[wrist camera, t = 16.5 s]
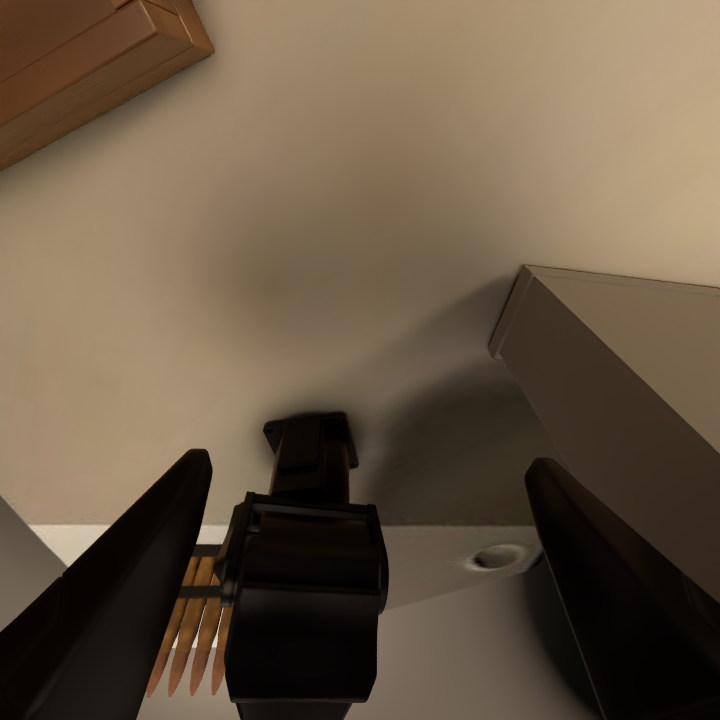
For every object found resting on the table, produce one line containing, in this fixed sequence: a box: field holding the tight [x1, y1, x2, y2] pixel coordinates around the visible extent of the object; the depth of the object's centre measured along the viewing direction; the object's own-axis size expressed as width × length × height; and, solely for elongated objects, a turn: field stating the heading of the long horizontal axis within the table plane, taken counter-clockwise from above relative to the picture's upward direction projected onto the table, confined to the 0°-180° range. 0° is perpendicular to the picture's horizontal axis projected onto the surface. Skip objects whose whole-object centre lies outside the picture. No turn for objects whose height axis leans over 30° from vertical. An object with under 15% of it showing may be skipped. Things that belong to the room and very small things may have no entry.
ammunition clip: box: [147, 545, 233, 697], centre depth 34 cm, size 11×2×12 cm, turn 86°
